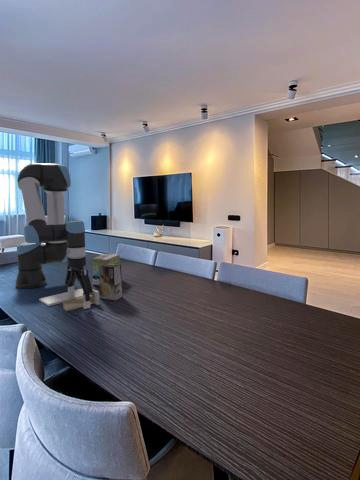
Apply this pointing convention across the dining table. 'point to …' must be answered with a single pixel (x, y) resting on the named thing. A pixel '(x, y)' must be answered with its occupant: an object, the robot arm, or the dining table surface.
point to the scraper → (80, 301)
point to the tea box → (101, 260)
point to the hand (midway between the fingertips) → (79, 304)
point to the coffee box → (110, 281)
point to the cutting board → (59, 298)
